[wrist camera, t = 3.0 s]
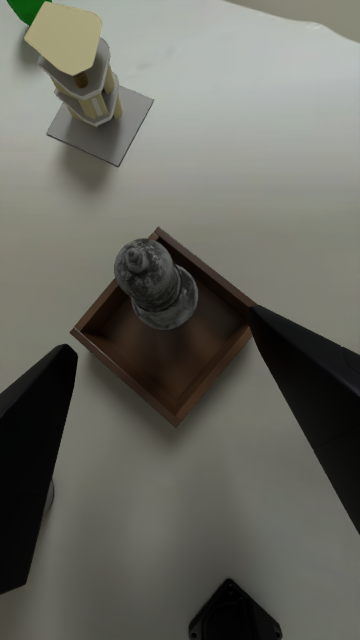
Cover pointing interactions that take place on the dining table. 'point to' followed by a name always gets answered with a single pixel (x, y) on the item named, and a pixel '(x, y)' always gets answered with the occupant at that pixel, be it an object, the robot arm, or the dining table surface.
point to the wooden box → (169, 337)
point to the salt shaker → (155, 284)
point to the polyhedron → (27, 9)
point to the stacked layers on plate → (85, 83)
